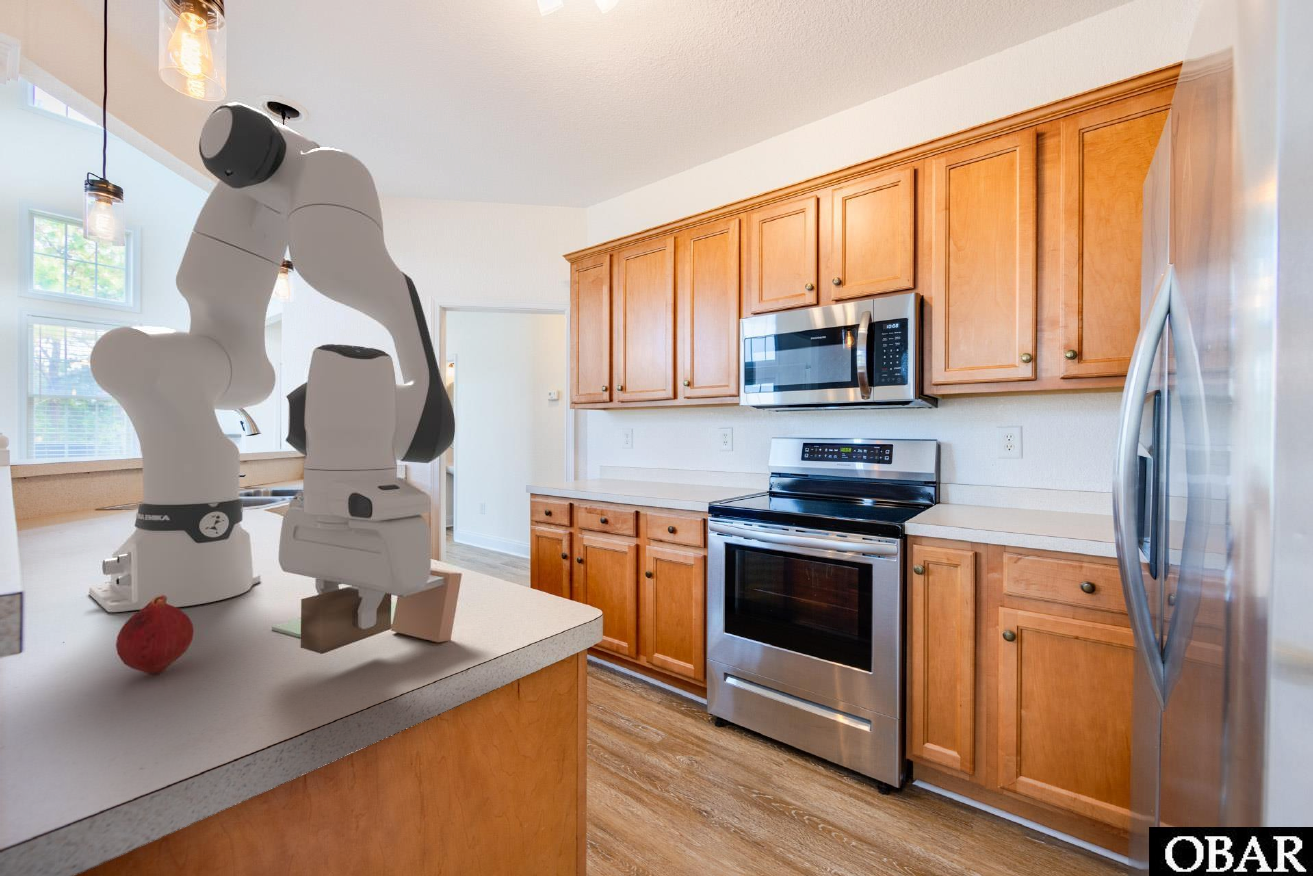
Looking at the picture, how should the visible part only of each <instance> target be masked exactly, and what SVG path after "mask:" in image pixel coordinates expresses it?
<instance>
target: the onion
mask: <svg viewBox="0 0 1313 876" xmlns="http://www.w3.org/2000/svg"><path fill="white" fill-rule="evenodd" d="M166 600H167V597H166V596H164V595H158V596H156V597H154V598H153V599H152V600H151V601H150V603H149V604H148V605H146V606H145V607H144V608H143V609H139V610H138V611H137V612H135V613H134V614H133V615H132V616H131V617H130V618H129V619H128V620H127V621H126V622H125V623H124V625H122V627H121V629H120V631H119V632H118V635H117V637H116V642H115V643H116V644H115V649H116V653H117V656H118V657H119V659H120V660H121V662H122V663H123V664H124V665H125V666H127V667H129V668H131V669H133V670H136V671H139V672H141V673H146V674H149V675H158V674H162V673H163V672H164V671H166V670H167V668H168V667H169V666H170V665H172V664H173V663H174V662H176V660H178V659H179V658H180V657H181V656H182V655H184V653H186V651H188V648H189V646H191V644H192V641H193V640H194V639H193V638H194V633H195V629H194V625H193V622H192V620H191V619H190V617H189V616H188V614H186V613H185V612H184V611H183V610H181V609H179V607H174V606H171V605H169V604H166Z"/></svg>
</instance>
